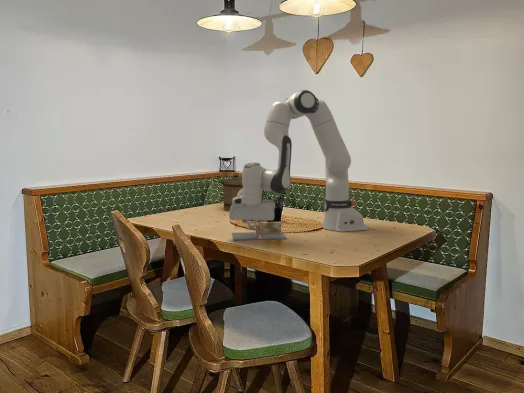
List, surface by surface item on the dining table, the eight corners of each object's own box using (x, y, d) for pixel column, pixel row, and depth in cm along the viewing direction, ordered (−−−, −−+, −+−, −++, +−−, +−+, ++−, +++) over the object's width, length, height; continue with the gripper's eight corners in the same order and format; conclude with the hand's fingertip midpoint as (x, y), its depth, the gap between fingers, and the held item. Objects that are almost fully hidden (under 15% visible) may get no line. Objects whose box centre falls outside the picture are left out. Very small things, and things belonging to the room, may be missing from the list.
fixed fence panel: (280, 232, 225) (280, 219, 224) (281, 232, 224) (281, 220, 223) (255, 232, 224) (255, 220, 223) (256, 233, 222) (255, 221, 221)
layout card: (282, 232, 227) (282, 231, 227) (286, 239, 214) (286, 237, 214) (231, 233, 224) (231, 232, 224) (233, 240, 211) (233, 239, 211)
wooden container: (244, 212, 278) (244, 174, 274) (220, 211, 281) (219, 174, 278) (251, 207, 292) (250, 172, 289) (228, 206, 295) (227, 171, 292)
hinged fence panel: (256, 232, 222) (256, 222, 221) (258, 232, 222) (258, 222, 221) (256, 237, 213) (256, 226, 212) (258, 237, 213) (258, 226, 212)
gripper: (275, 198, 216) (275, 228, 218) (230, 197, 217) (230, 227, 219) (274, 200, 209) (274, 231, 211) (228, 200, 211) (228, 230, 213)
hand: (251, 229), depth 215 cm, fingers closed
